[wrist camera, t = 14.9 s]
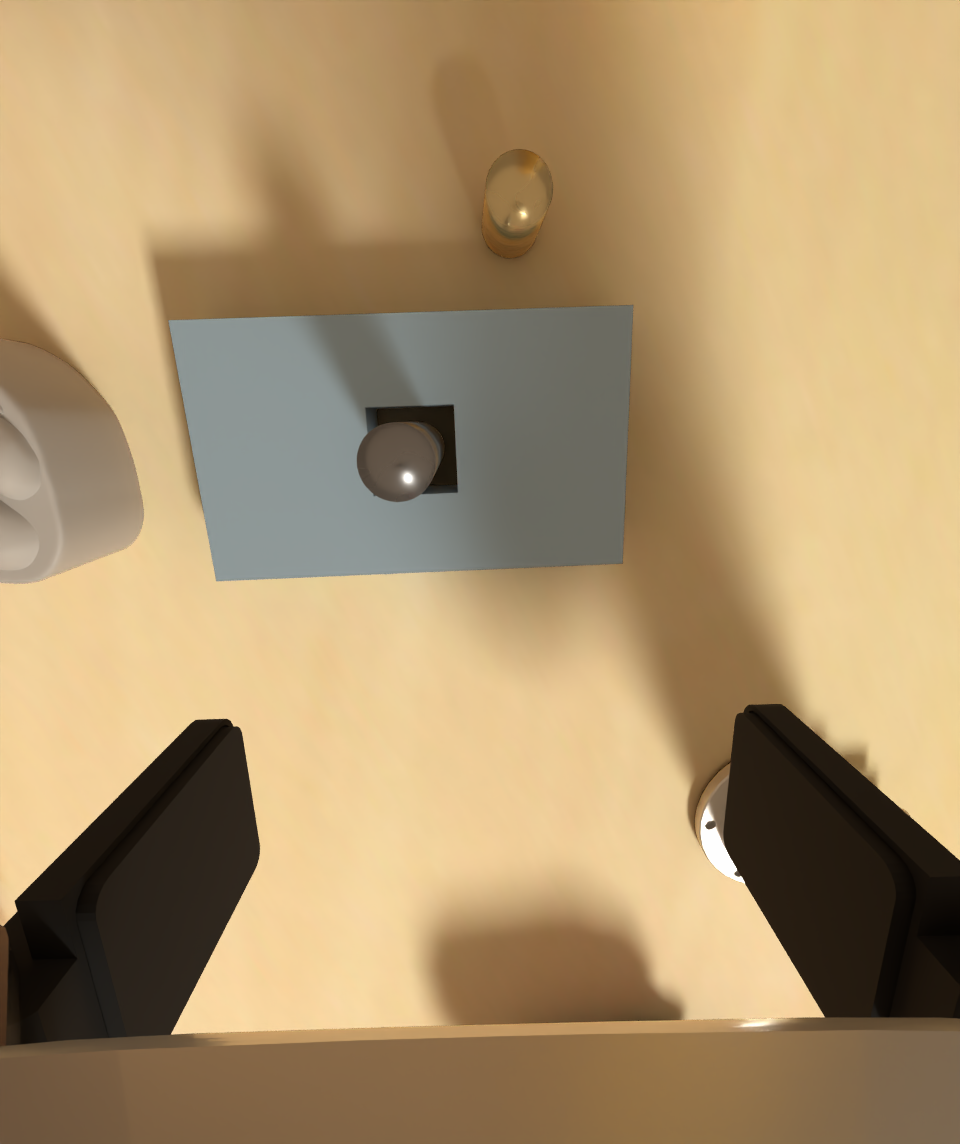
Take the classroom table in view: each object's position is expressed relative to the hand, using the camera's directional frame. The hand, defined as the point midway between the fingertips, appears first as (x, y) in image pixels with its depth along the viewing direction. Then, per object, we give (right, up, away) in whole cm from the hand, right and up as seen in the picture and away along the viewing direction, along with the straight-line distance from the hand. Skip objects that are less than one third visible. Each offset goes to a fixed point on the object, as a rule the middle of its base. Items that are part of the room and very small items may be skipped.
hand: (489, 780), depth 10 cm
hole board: (-4, +12, +23) cm, 26 cm away
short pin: (+2, +24, +20) cm, 31 cm away
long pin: (-4, +12, +23) cm, 26 cm away
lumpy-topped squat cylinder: (-27, +11, +23) cm, 37 cm away
